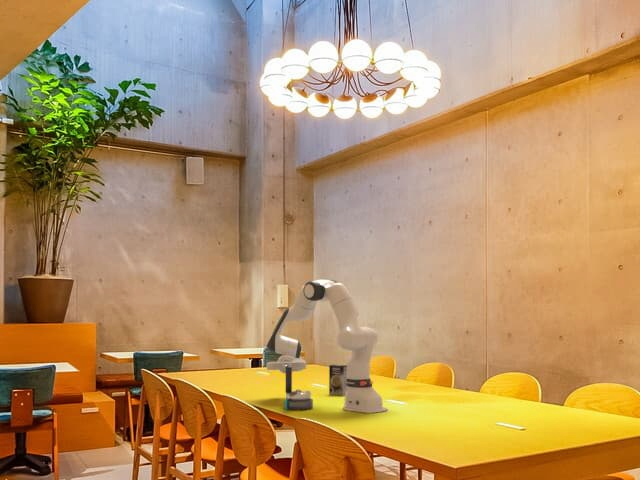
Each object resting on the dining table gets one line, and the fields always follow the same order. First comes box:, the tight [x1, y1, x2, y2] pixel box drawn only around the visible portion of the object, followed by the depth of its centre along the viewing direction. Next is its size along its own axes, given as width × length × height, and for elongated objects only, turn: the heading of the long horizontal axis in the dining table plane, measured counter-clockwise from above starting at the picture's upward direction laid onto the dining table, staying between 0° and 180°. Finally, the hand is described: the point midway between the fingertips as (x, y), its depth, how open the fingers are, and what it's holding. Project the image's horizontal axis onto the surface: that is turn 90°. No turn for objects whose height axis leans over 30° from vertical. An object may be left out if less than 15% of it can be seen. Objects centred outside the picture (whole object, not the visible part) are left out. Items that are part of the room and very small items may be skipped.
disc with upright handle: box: [285, 367, 312, 401], centre depth 323 cm, size 14×12×16 cm
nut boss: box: [283, 398, 314, 411], centre depth 323 cm, size 14×15×5 cm
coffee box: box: [328, 364, 347, 397], centre depth 370 cm, size 9×6×16 cm
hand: (287, 366), depth 334 cm, fingers closed
